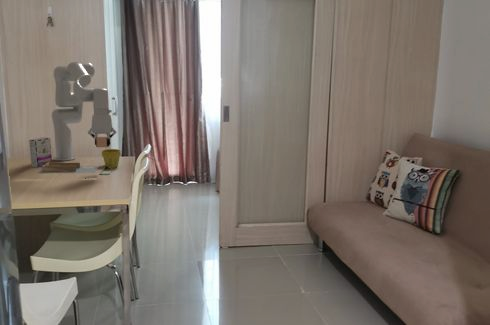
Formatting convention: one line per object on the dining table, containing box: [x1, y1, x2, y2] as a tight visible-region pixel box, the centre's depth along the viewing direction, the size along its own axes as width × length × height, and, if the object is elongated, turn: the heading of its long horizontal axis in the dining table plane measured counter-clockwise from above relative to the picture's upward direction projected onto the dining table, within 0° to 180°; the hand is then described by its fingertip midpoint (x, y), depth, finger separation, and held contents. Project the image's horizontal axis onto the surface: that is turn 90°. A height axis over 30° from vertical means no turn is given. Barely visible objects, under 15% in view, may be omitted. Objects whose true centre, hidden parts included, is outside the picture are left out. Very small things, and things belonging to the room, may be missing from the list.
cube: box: [96, 136, 109, 148], centre depth 233 cm, size 5×5×5 cm
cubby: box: [41, 162, 81, 172], centre depth 238 cm, size 10×17×3 cm, turn 98°
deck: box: [37, 165, 101, 174], centre depth 240 cm, size 18×29×1 cm, turn 98°
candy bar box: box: [28, 137, 53, 168], centre depth 248 cm, size 11×5×16 cm, turn 161°
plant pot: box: [101, 148, 122, 169], centre depth 253 cm, size 10×10×10 cm
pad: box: [98, 170, 112, 176], centre depth 237 cm, size 7×7×1 cm
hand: (102, 145), depth 234 cm, fingers closed on cube, 5 cm apart
